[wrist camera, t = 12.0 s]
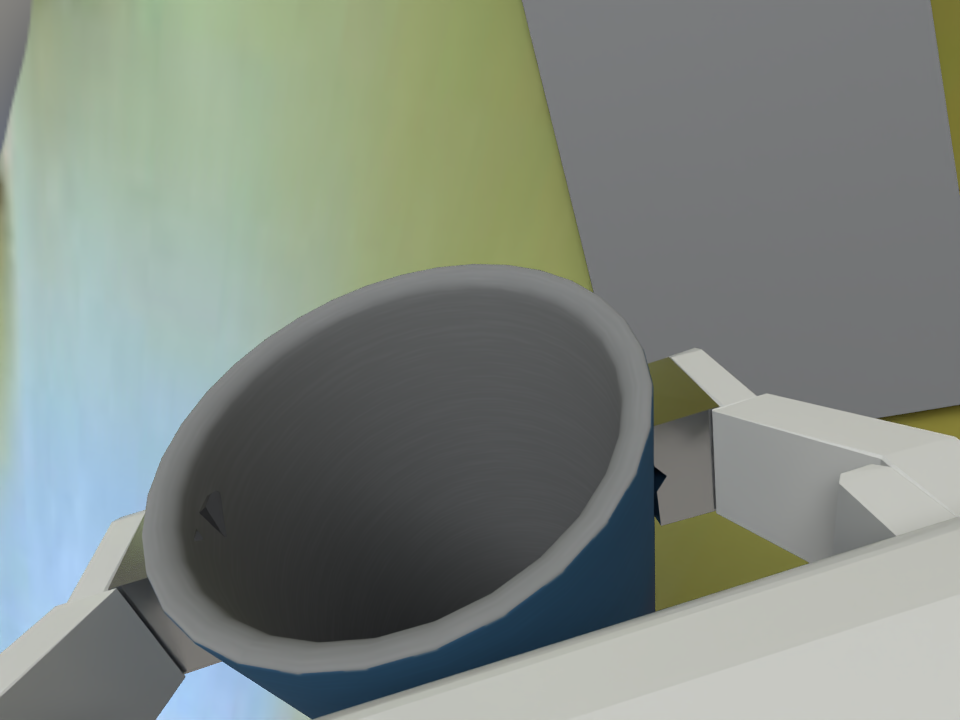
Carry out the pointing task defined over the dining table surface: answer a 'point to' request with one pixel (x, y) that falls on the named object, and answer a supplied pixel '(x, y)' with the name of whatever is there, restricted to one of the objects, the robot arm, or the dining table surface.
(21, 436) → the dining table surface
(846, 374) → the mat
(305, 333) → the cup
